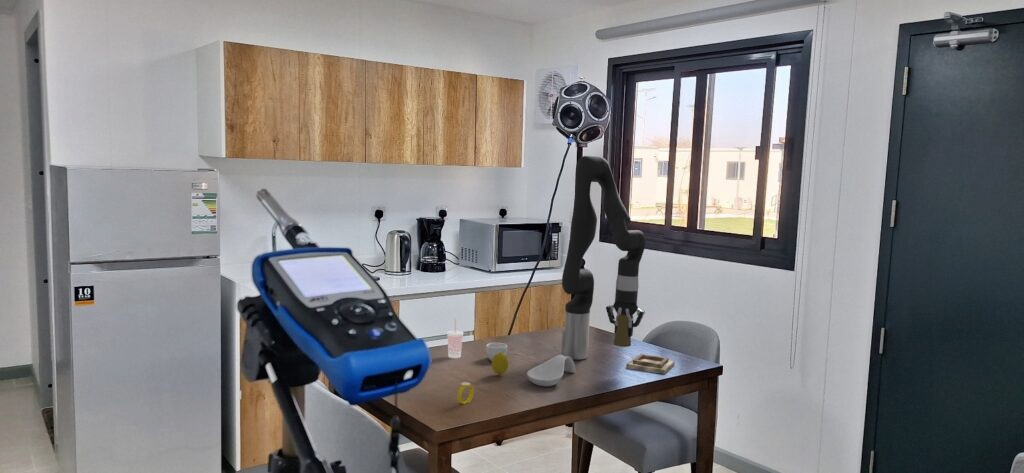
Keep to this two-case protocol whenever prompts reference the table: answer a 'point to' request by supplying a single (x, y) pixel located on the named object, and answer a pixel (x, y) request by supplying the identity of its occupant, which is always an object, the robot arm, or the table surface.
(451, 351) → the beverage cup
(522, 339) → the table surface
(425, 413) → the table surface
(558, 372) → the spoon rest
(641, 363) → the socket board
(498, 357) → the lemon
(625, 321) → the pepper mill
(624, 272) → the robot arm
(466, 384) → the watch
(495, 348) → the teacup
